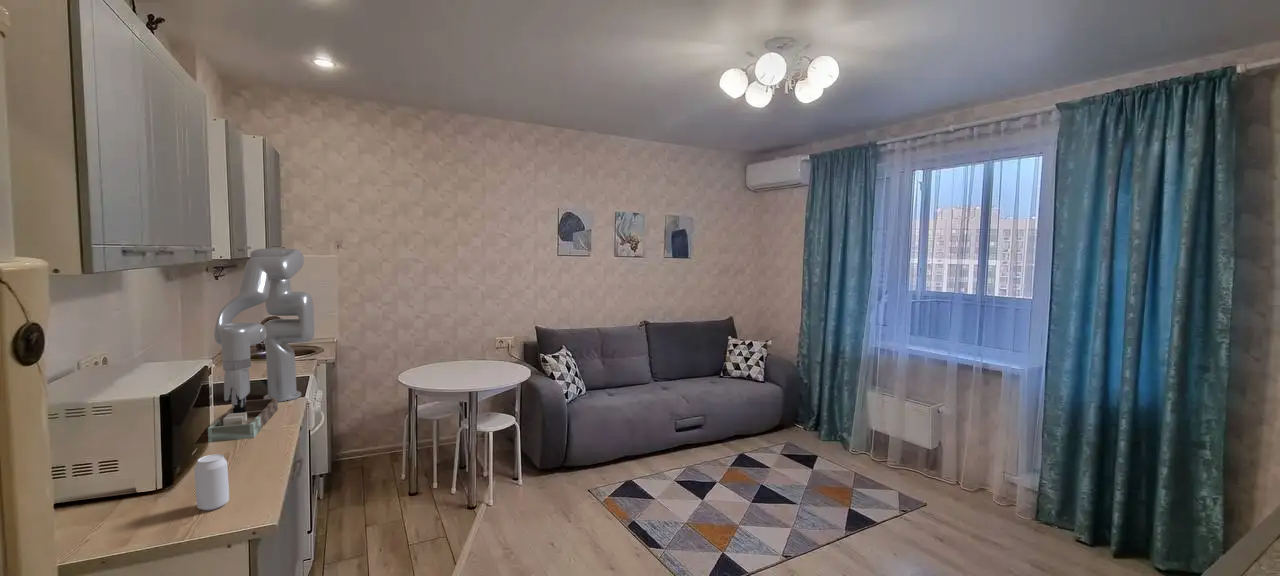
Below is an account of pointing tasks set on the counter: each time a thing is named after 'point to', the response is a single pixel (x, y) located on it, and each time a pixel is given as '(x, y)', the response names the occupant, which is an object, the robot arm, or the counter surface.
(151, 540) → the counter surface
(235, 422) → the block
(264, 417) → the box
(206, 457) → the beverage can
